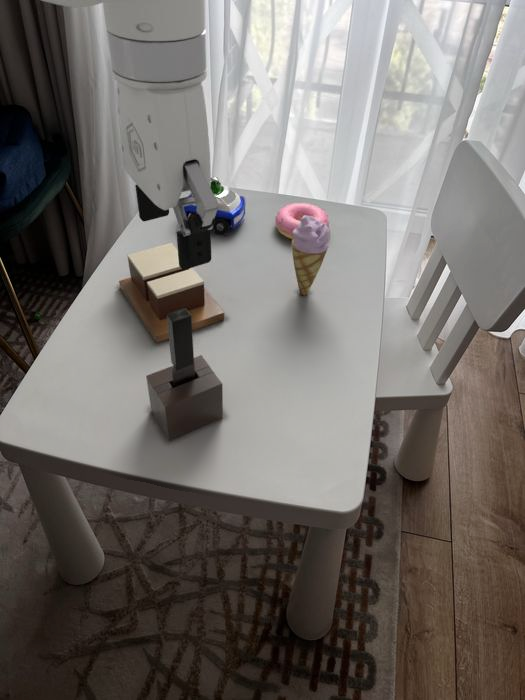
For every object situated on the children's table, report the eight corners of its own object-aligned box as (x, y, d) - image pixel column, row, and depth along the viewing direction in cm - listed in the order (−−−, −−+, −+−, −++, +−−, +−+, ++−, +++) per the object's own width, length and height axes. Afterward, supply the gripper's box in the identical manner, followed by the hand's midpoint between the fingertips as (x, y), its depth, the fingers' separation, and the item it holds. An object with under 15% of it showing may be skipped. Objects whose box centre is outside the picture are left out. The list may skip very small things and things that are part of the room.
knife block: (169, 441, 70) (165, 407, 65) (151, 410, 74) (145, 375, 69) (222, 417, 73) (222, 383, 69) (203, 389, 77) (201, 354, 72)
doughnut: (318, 250, 104) (321, 231, 101) (266, 236, 107) (267, 218, 104) (334, 223, 111) (337, 205, 109) (285, 211, 114) (286, 193, 111)
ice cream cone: (284, 280, 97) (291, 205, 86) (318, 279, 97) (329, 205, 87) (288, 303, 92) (296, 227, 81) (324, 303, 92) (336, 227, 82)
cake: (146, 301, 88) (143, 277, 85) (130, 279, 92) (127, 254, 89) (190, 287, 91) (189, 263, 88) (173, 266, 95) (171, 242, 92)
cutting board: (156, 343, 83) (155, 336, 82) (119, 287, 93) (118, 280, 92) (224, 319, 88) (224, 312, 87) (182, 268, 98) (182, 262, 97)
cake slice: (159, 320, 85) (157, 295, 81) (150, 306, 87) (146, 281, 84) (204, 305, 88) (204, 281, 85) (194, 292, 90) (192, 268, 87)
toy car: (195, 205, 114) (193, 163, 108) (249, 215, 112) (250, 172, 106) (179, 227, 108) (176, 183, 101) (236, 238, 106) (237, 194, 99)
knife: (179, 422, 73) (169, 323, 60) (174, 414, 73) (163, 314, 61) (199, 413, 74) (193, 314, 61) (194, 405, 75) (187, 306, 62)
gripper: (77, 31, 46) (108, 209, 58) (159, 98, 36) (176, 298, 48) (158, 23, 49) (172, 194, 61) (255, 83, 39) (248, 274, 51)
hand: (174, 239), depth 54 cm, fingers open, 9 cm apart
